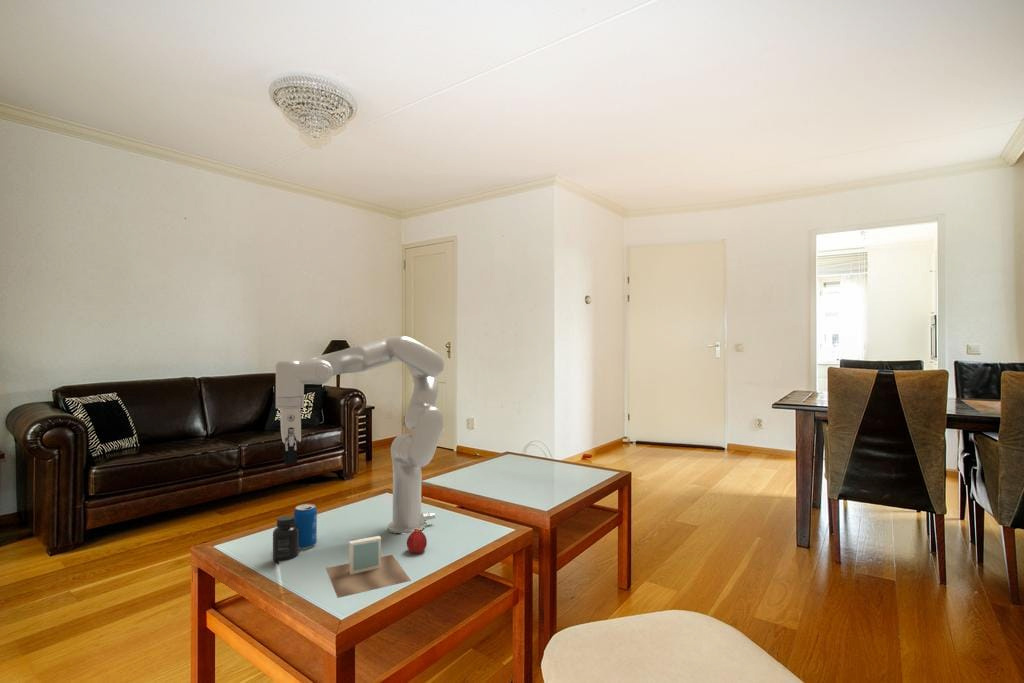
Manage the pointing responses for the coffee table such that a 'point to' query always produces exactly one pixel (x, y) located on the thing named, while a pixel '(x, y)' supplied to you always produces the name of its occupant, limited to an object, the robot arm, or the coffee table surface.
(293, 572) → the coffee table surface
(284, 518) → the supplement bottle
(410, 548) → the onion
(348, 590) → the board
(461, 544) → the coffee table surface
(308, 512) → the beverage can
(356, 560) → the tile
